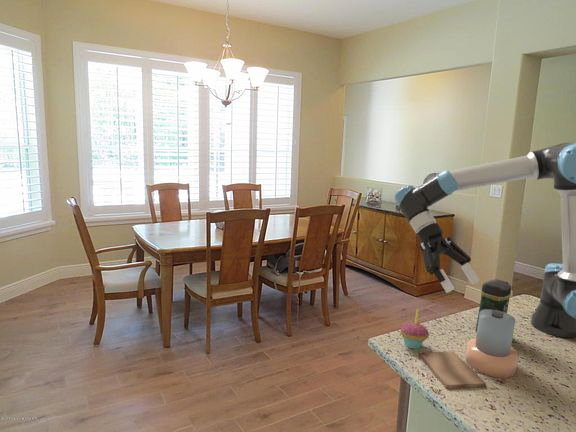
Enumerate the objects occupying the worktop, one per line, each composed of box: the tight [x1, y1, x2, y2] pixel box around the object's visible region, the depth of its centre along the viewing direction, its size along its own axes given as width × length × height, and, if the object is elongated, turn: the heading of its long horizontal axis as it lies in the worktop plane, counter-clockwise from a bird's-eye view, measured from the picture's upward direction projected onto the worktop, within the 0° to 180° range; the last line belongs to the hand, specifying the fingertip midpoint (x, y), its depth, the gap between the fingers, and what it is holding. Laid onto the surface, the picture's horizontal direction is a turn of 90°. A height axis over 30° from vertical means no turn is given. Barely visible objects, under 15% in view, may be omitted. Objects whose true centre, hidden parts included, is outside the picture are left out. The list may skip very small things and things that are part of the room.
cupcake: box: [399, 307, 430, 350], centre depth 123 cm, size 9×8×12 cm
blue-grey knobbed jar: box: [475, 309, 516, 357], centre depth 113 cm, size 9×9×11 cm
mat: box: [418, 351, 487, 389], centre depth 111 cm, size 11×16×1 cm
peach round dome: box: [465, 337, 519, 379], centre depth 114 cm, size 13×13×5 cm
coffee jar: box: [475, 278, 512, 333], centre depth 132 cm, size 10×8×19 cm
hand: (464, 286), depth 120 cm, fingers open, 13 cm apart
